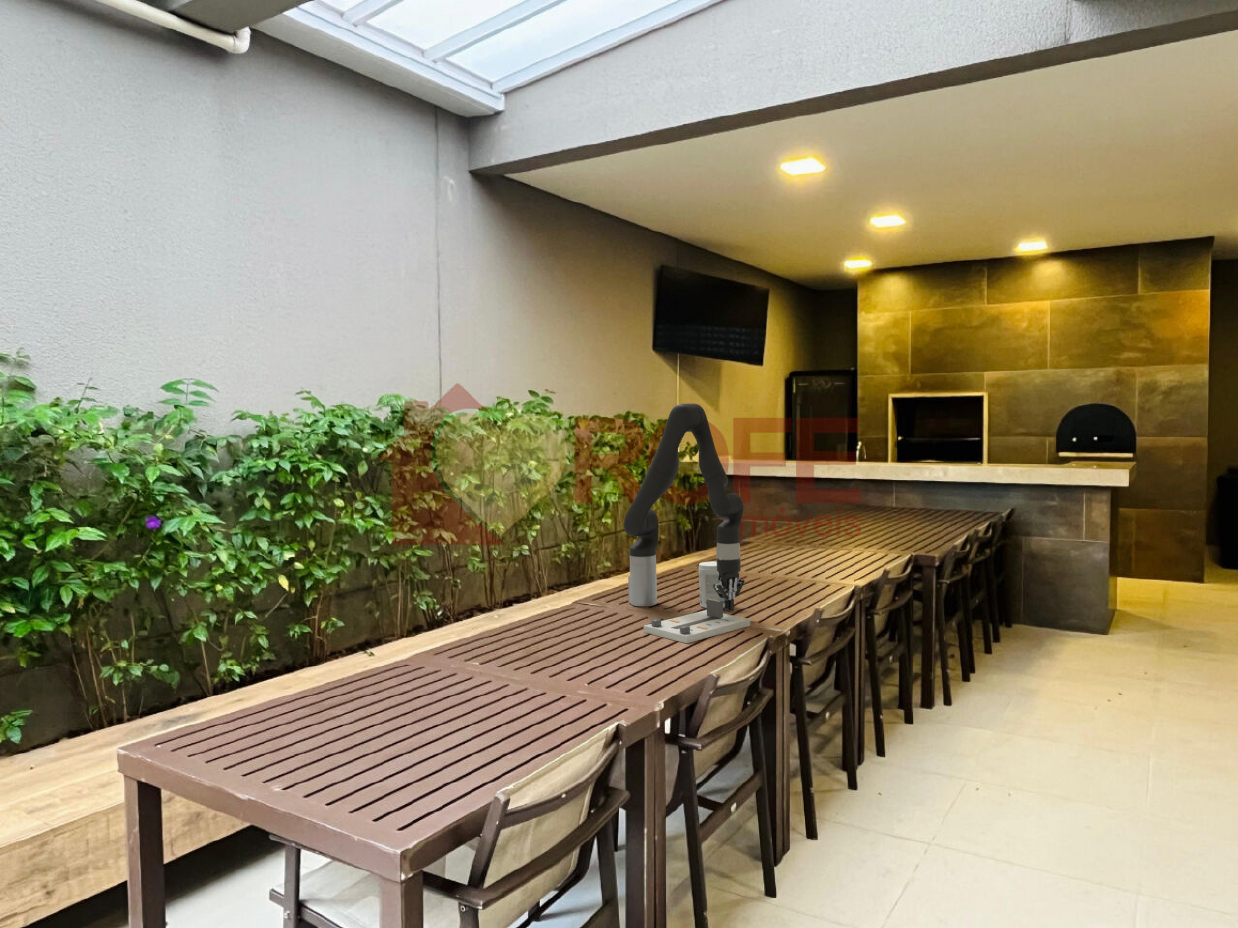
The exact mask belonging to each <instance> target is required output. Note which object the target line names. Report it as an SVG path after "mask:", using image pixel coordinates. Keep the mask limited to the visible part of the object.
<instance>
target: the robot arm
mask: <svg viewBox="0 0 1238 928" xmlns="http://www.w3.org/2000/svg"><path fill="white" fill-rule="evenodd" d="M667 417H668V418H667V420H666V423H665V426H664V430H663V433H662V437H661V439H660V441H659V444H658V446H657V449H656V452H655V454H654V456H653V458H652V461H651V463H650V465H649V466H648V469H647V471H646V475H645V477H644V479H643V481H642V483H641V485H640V488H639V490H638V492H637V494H636V496H635V498H634V499H633V501H632V503H631V505H630V506H629V508H628V509H627V512H626V514H625V515H624V519H623V528H624V532H625V533H626V534H627V535H629V536H631V537H637V539H636V541H635V542H634V543H633V544H632V545H630V547H629V550H628V551H629V576H628V577H627V579H628V580H627V581H628V584H627V585H628V587H627V588H628V604H630V605H631V606H635V607H652V606H655V605H657V604H658V587H657V584H658V583H657V548H658V544H659V527H660V526H659V525H660V524H659V518H658V515H657V513H656V512H655V510H654V509H652V507H653V506H654V505H655V503H656V502H657V501H658V500H659V499H661V497H662V496H663V495H664V494H665V493H666V492H667V491H668V490H669V488H671V486H672V484H673V482H674V480H675V478H676V475H677V474H678V471H679V467H680V466H679V465H680V460H679V448H680V444H681V443H682V440H683V438H684V436H685V434H686V433H689V432H690V433H691V434H692V435H693V437H694V439H695V441H696V444H697V449H698V467H699V471H700V473H701V476H702V478H703V481H704V482H705V485H706V487H707V494H708V499H709V503H710V507H711V510H712V511H713V512H714V514H715V515H717V516H718V517H720V518H723V520H722V522H721V523H720V524H719V525H717V528H716V548H715V549H716V550H715V551H716V562H717V571H718V572H719V577H718V582H717V583H716V584H713V588H714V589H715V591H716V592H717V594H718V595H719V597H720V598H723V599H724V600H725V607H724V611H725V612H728V613H729V612H733V611H734V608H735V598H736V597H739V596H740V594H741V590H742V588H743V586H744V584H745V579H743V578H741V576H740V572H741V570H742V569H741V565H742V564H741V561H742V560H741V545H740V527H741V523H742V519H743V515H744V503H743V502H744V501H743V499H742V497H741V496H740V495H739V494H738V493H736V492H730V493H728V492H726V489H725V487H726V486H727V485H728V484H729V478H728V476H727V474H726V471H725V469H724V467H723V464H722V462H721V460H720V457H719V455H718V452H717V449H716V447H715V442H714V439H713V436H712V432H711V431H712V430H711V428H710V423H709V420H708V416H707V414H706V411H705V410H704V408H703V406H701V405H700V404H698V403H679V404H676V405H674V406H673V407H672V409H671V410H670V412H669V414H668V416H667Z"/></svg>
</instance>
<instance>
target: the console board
mask: <svg viewBox="0 0 1238 928" xmlns="http://www.w3.org/2000/svg"><path fill="white" fill-rule="evenodd" d="M650 622H651V623H649V624H645V625H643V633H645V634H649V635H653V636H657V637H659V638H660V637H661V638H664V639H667V640H672V641H676V642H679V643H684V644H689V643H694V642H696V641H699V640H704V639H707V638H710V637H714V636H719V635H723V634H726V633H729V632H732V631H736V630H739V629H742V628H747V627H750V626H751V619H750V618H745V617H741V616H737V615H734V614H733V615H732V614H728V613H723V617H722V618H715V617H710V616H707V609H705V610H702V611H701V610H700V611H698V612H693V613H690V614H685V615H682V616H681V615H680V616H677V617H673V618H670V619H665V620H662V619H661V618H653V619H651V621H650Z"/></svg>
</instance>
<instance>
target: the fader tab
mask: <svg viewBox="0 0 1238 928" xmlns="http://www.w3.org/2000/svg"><path fill="white" fill-rule="evenodd" d="M706 610H707V616H710V617H715V618H722V617H723V614H724V608H723V601H719V600H714V599H709V600H707V608H706Z"/></svg>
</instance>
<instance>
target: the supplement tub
mask: <svg viewBox="0 0 1238 928" xmlns="http://www.w3.org/2000/svg"><path fill="white" fill-rule="evenodd" d="M718 577H719V572H718V571H717V561H703V562H700V563H699V564H698V583H699V588H698V589H699V605H700V606H701V607H702V608H704V609H707V600H709V599H714V600H719V601H723V609H725V600H724V599H723V598H720V597H719V595H718V594H717V592H716V591H715V589H714V588H713V584H716V583H717V582H718Z"/></svg>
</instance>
